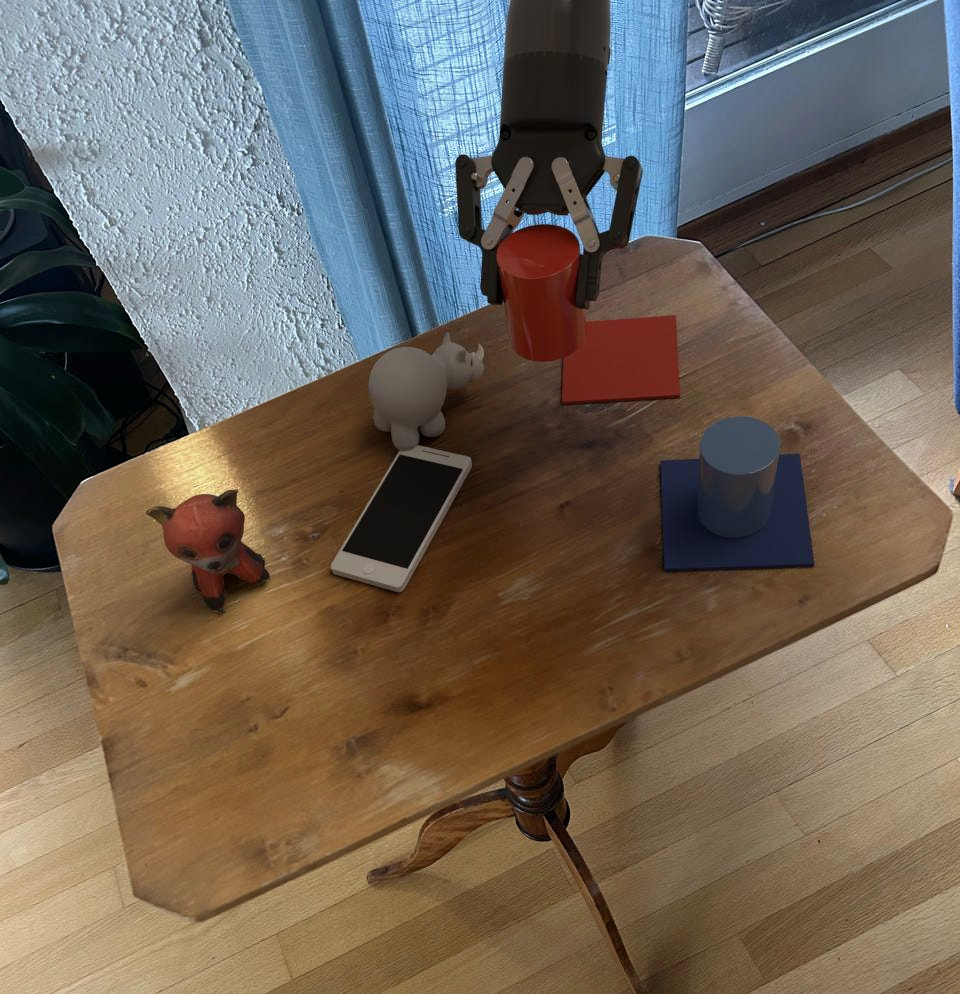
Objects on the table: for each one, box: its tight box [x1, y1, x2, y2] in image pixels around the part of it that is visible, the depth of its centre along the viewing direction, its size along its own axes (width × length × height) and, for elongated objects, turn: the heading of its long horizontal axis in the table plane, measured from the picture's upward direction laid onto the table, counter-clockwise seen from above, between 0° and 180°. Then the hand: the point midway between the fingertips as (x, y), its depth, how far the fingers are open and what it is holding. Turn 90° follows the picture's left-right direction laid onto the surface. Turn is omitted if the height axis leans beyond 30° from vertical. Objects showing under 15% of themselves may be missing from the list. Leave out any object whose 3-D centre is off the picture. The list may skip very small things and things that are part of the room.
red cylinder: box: [496, 223, 587, 363], centre depth 79 cm, size 6×6×8 cm
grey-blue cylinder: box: [697, 415, 781, 538], centre depth 84 cm, size 6×6×8 cm
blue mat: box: [660, 453, 815, 572], centre depth 87 cm, size 12×12×1 cm
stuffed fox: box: [145, 488, 271, 615], centre depth 88 cm, size 8×11×12 cm
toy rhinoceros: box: [367, 331, 485, 451], centre depth 96 cm, size 7×12×8 cm, turn 121°
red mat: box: [561, 314, 681, 406], centre depth 99 cm, size 11×11×1 cm
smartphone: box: [330, 444, 473, 593], centre depth 92 cm, size 7×15×1 cm, turn 156°
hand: (538, 305), depth 78 cm, fingers closed on red cylinder, 6 cm apart
